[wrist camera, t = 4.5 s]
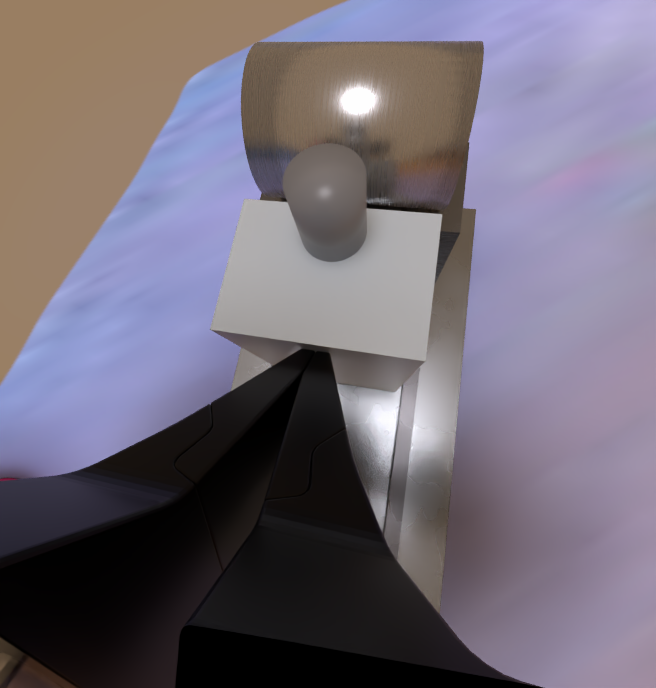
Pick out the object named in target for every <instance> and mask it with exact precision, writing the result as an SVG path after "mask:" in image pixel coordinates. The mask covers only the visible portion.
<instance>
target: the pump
mask: <svg viewBox="0 0 656 688" xmlns="http://www.w3.org/2000/svg"><path fill="white" fill-rule="evenodd" d="M283 191H284V194H285V197H286V200H287V202H278V201H265V200H252V199H244V202H243V206H242V210H241V213H240V217H239V221H238V225H237V229H236V233H235V236H234V240H233V244H232V248H231V252H230V256H229V259H228V263H227V267H226V271H225V275H224V278H223V282H222V286H221V290H220V294H219V298H218V301H217V305H216V309H215V313H214V317H213V320H212V324H211V328H210V330H212V331H214V332H215V333H217V334H219V335H221V336H222V337H224V338H226V339H228V340H229V341H231V342H233V343H235V344H236V345H238V346H240V347H242V348H244V349H245V350H247V351H249V352H251V353H252V354H254V355H256V356H258V357H259V358H261V359H263V360H265V361H266V362H268V363H270V364H272V365H275V364H277V363H278V362H280V361H282V360H283V359H285V358H287V357H288V356H290V355H292V354H293V353H295V352H297V351H298V350H300V349H309V350H314V351H315V352H316V351H322V352H328V353H330V355H331V359H332V364H333V369H334V373H335V378H336V383H342V384H348V385H354V386H360V387H366V388H372V389H378V390H384V391H390V392H396V391H397V390H398V389H399V388H400V387H401V386H402V385H403V384H404V383H405V382H406V381H407V380H408V379H409V378H410V377H411V375H412V374H413V373H414V372H415V371H416V370H417V369H418V368H419V367H420V366H421V365H422V364H423V363H424V362H425V361H426V353H427V344H428V335H429V327H430V318H431V309H432V300H433V292H434V283H435V274H436V265H437V257H438V248H439V239H440V230H441V222H442V214H433V213H420V212H407V211H394V210H381V209H368V208H367V193H366V169H365V165H364V163H363V161H362V159H361V158H360V157H359V155H358V154H357V153H355V152H354V151H353V150H351V149H350V148H348V147H346V146H343V145H339V144H333V143H325V144H318V145H314V146H311V147H309V148H307V149H305V150H303V151H302V152H300V153H299V154H297V155H296V156H295V157H294V158H293V159H292V160H291V162H290V163H289V164H288V166H287V168H286V170H285V173H284V176H283Z"/></svg>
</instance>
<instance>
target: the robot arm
mask: <svg viewBox="0 0 656 688" xmlns="http://www.w3.org/2000/svg"><path fill="white" fill-rule="evenodd" d="M0 688H543V687H539V686H536V685H532V684H529V683H525V682H522V681H519V680H517V679H514V678H512V677H509V676H507V675H504V674H502V673H501V672H499V671H497V670H496V669H494V668H492V667H491V666H489V665H488V664H486V663H485V662H483V661H482V660H481V659H480V658H478V657H477V656H476V655H475V654H474V653H472V652H471V651H470V650H469V649H468V648H467V647H466V646H465V645H464V643H463V642H462V641H461V640H460V639H459V638H458V637H457V636H456V634H455V633H454V632H453V631H452V629H451V628H450V627H449V626H448V624H447V623H446V622H445V621H444V619H443V618H442V617H441V615H440V614H439V613H438V612H437V610H436V609H435V608H434V607H433V605H432V604H431V603H430V602H429V600H428V599H427V598H426V597H425V595H424V594H423V593H422V592H421V590H420V589H419V588H418V587H417V585H416V584H415V583H414V581H413V580H412V579H411V578H410V576H409V575H408V574H407V573H406V571H405V570H404V569H403V568H402V566H401V565H400V564H399V562H398V561H397V560H396V558H395V557H394V555H393V553H392V551H391V550H390V548H389V546H388V544H387V542H386V539H385V537H384V535H383V533H382V530H381V528H380V526H379V523H378V521H377V518H376V516H375V513H374V510H373V508H372V505H371V503H370V500H369V498H368V495H367V493H366V490H365V488H364V485H363V483H362V480H361V478H360V475H359V472H358V469H357V466H356V463H355V460H354V457H353V453H352V450H351V446H350V442H349V437H348V433H347V429H346V424H345V420H344V415H343V410H342V406H341V401H340V396H339V392H338V387H337V383H336V378H335V373H334V369H333V364H332V359H331V355H330V353H328V352H322V351H316V352H315V351H314V350H309V349H300V350H298V351H297V352H295V353H293V354H292V355H290V356H288V357H287V358H285V359H283V360H282V361H280V362H278V363H277V364H275V365H273V366H272V367H270V368H268V369H267V370H265V371H263V372H262V373H260V374H258V375H257V376H255V377H253V378H252V379H250V380H248V381H247V382H245V383H243V384H242V385H240V386H238V387H237V388H235V389H233V390H232V391H230V392H228V393H227V394H225V395H223V396H222V397H220V398H218V399H217V400H215V401H213V402H212V403H211V405H210V404H208V405H207V406H205V407H203V408H202V409H200V410H198V411H197V412H195V413H193V414H191V415H190V416H188V417H186V418H184V419H183V420H181V421H179V422H177V423H175V424H173V425H172V426H170V427H168V428H166V429H164V430H162V431H160V432H158V433H156V434H154V435H152V436H150V437H148V438H146V439H144V440H142V441H140V442H138V443H136V444H134V445H132V446H130V447H128V448H126V449H124V450H122V451H120V452H118V453H116V454H114V455H112V456H110V457H108V458H106V459H104V460H102V461H100V462H98V463H96V464H93V465H91V466H89V467H86V468H83V469H81V470H78V471H74V472H71V473H67V474H62V475H57V476H49V477H39V478H28V479H17V480H6V481H0Z"/></svg>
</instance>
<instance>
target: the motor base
mask: <svg viewBox="0 0 656 688" xmlns="http://www.w3.org/2000/svg"><path fill="white" fill-rule="evenodd" d="M483 54H484V47H483V42H482V41H413V42H257V43H255V44H254V45H253V46H252V47H251V49H250V51H249V53H248V56H247V59H246V62H245V66H244V72H243V78H242V89H241V116H242V129H243V138H244V144H245V150H246V154H247V159H248V163H249V166H250V170H251V173H252V176H253V178H254V180H255V183H256V184H257V186H258V188H259V189H260V191H261V192H262V194H261V198H260V200H265V201H278V202H287V200H286V197H285V194H284V191H283V176H284V173H285V170H286V168H287V166H288V164H289V163H290V162H291V160H292V159H293V158H294V157H295V156H296V155H297V154H299V153H300V152H302V151H303V150H305V149H307V148H309V147H311V146H314V145H318V144H325V143H333V144H339V145H343V146H346V147H348V148H350V149H351V150H353V151H354V152H355V153H357V154H358V155H359V157H360V158H361V159H362V161H363V163H364V165H365V169H366V193H367V208H368V209H381V210H394V211H407V212H420V213H433V214H442V222H441V230H440V239H439V248H438V257H437V265H436V274H435V283H434V292H433V300H432V309H431V318H430V327H429V335H428V344H427V353H426V361H425V362H424V363H423V364H422V365H421V366H420V367H419V368H418V369H417V370H416V371H415V372H414V373H413V374H412V375H411V377H410V378H409V379H408V380H407V381H406V382H405V383H404V384H403V385H402V386H401V387H400V388H399V389H398V390H397V391H396V392H390V391H384V390H378V389H372V388H366V387H360V386H354V385H348V384H342V383H337V387H338V392H339V396H340V401H341V406H342V410H343V415H344V420H345V424H346V429H347V433H348V437H349V442H350V446H351V450H352V453H353V457H354V460H355V463H356V466H357V469H358V472H359V475H360V478H361V480H362V483H363V485H364V488H365V490H366V493H367V495H368V498H369V500H370V503H371V505H372V508H373V510H374V513H375V516H376V518H377V521H378V523H379V526H380V528H381V530H382V533H383V535H384V537H385V539H386V542H387V544H388V546H389V548H390V550H391V551H392V553H393V555H394V557H395V558H396V560H397V561H398V562H399V564H400V565H401V566H402V568H403V569H404V570H405V571H406V573H407V574H408V575H409V576H410V578H411V579H412V580H413V581H414V583H415V584H416V585H417V587H418V588H419V589H420V590H421V592H422V593H423V594H424V595H425V597H426V598H427V599H428V600H429V602H430V603H431V604H432V605H433V607H434V608H435V609H436V610H437V612H438V613H439V614H440V603H441V591H442V580H443V569H444V558H445V547H446V536H447V525H448V514H449V503H450V492H451V480H452V469H453V458H454V447H455V436H456V425H457V414H458V403H459V392H460V381H461V370H462V358H463V347H464V336H465V325H466V314H467V303H468V292H469V281H470V270H471V259H472V247H473V236H474V225H475V214H476V209H464V208H463V201H464V191H465V181H466V171H467V161H468V151H469V142H468V141H469V136H470V132H471V128H472V123H473V118H474V114H475V109H476V104H477V98H478V93H479V87H480V80H481V74H482V65H483ZM272 366H273V365H272V364H270V363H268V362H266V361H265V360H263V359H261V358H259V357H258V356H256V355H254V354H252V353H251V352H249V351H247V350H245V349H244V348H242V347H241V350H240V354H239V359H238V363H237V367H236V371H235V375H234V380H233V384H232V388H231V391H232V390H233V389H235V388H237V387H238V386H240V385H242V384H243V383H245V382H247V381H248V380H250V379H252V378H253V377H255V376H257V375H258V374H260V373H262V372H263V371H265V370H267V369H268V368H270V367H272Z"/></svg>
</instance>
